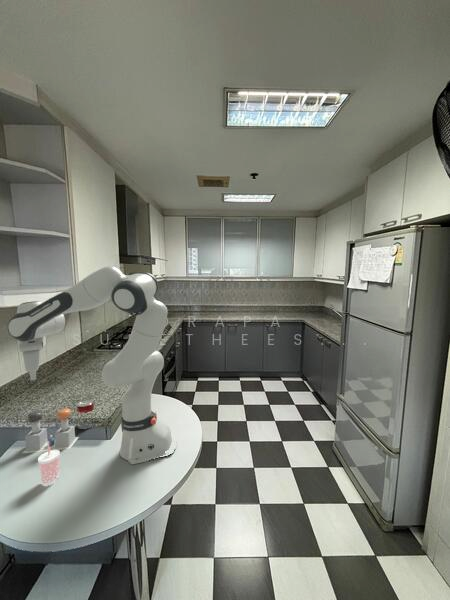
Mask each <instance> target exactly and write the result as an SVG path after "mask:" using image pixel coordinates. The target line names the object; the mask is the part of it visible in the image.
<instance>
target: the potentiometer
mask: <svg viewBox="0 0 450 600" xmlns="http://www.w3.org/2000/svg"><path fill="white" fill-rule="evenodd" d="M47 440H48V441H49V447H51V446H53V445H55V437H53V435H52V434H50V435H49V438H47Z"/></svg>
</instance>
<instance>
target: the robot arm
mask: <svg viewBox="0 0 450 600" xmlns="http://www.w3.org/2000/svg"><path fill="white" fill-rule="evenodd" d="M158 290H159V282H158V279H157V278H156V277H155V275H153V274H151V273H149V272H130V273H128V275H126V274H124V272H122V271H121V270H120V269H119V268H117V267H115V266H111V265H107V266H104V267H102V268H100V269H97V270H96V271H94V272H91V273H90V274H89V275H87V276H86V277H84V278H83V279H82V280H80V281H79V282H77V283H75V284H73V285H72V286H71V287H69V288H67V289H65V290H63V291H61V292H60V293H57V294H56V295H53V296H52V297H50V298H48V299H46V300H45V301H39V300H37V301H26V302H22V303H19V305H18V306H17V309H16V313H15V314H14V315H12V317H11V318H10V320H9V321H8V324H7V331H8V333H9V335H10V336H11V337H12V338H14V339H15V340H17V349H19V350H20V352H21V353H22V357H23V364H24V368H25V372H27V373H28V374H29V379H30V381H35V380H37V372H38V371H39V367H40V361H41V359H40V358H41V352H42V350H43V348H44V347H45V346H46V345H47V342H46V341H47V340H46V339H47V337H48V336H52V335H57V334H60V333H62V332H63V331H64V330H65V329H66V327H67V326H66V325H67V318H66V316H65V315H66V314H71V313H75V312H82V311H90V310H93V309H96V308H98V307H101V306H103V304H105V303H107V302H108V301H110V300H111V301H112V303H113V304H114V306H115V307H116V308H118V309H119V310H120V311H122V312H125V313H127V314H129V315H130V316H133V317H134V316H136V318H135V320H134V323H133V326H132V329H131V333H130V335H129V338H128V340H127V342H126V344H125V345H124V346H122V347H123V348H122V349H121V350H120V351H119V352H118V353H117V355H116V356H114V358H112V359H111V360H110V361H108V362H107V363H105V365H104V366H103V368H102V371H101V379H102V381H103V383H104V384H105V386H106V387H108V388H109V389H118V388H124V387H127V386H130V387H129V388H128V389H127V390H126V392H125V393H124V394H123V396H122V399H121V409H122V410H121V411H122V414H121V415H122V417H121V420H120V425H121V426H120V427H121V433H122V438H121V444H120V448H119V456H120V457H121V458H122V459H124V460H126V461H128V463H129V464H130V465H136V464H140V463H141V464H142V463H145V462H149V460H150V461H152V460H151V459H154V458H157V457H160V456H163V455H166V454H169V453H165V451H167V450H169V448H170V446H171V443H172V437H171V433H172V432H171V429H170V427H169V425H168V424H166V423H164V422H162V421H160V420H159V419H157V417H158V416H157V410H155V412H154V411H152V392H153V388H154V384H155V382H156V380H157V378H158V375H159V374H160V373H161V372H162V370H163V368H164V366H165V360H164V356H163V354H162V353H161V352H160V351H158V350H157V349H158V347H159V344H160V342H161V340H162V336H163V334H164V331H165V327H166V324H167V320H168V319H167V318H168V313H169V312H168V307H167V306H166V305H165V304H164V303H163V302H161V301H160V300H157V299H156V298H155V296H156V295H157V293H158ZM154 460H155V459H154Z"/></svg>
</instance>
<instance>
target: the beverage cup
mask: <svg viewBox="0 0 450 600" xmlns="http://www.w3.org/2000/svg"><path fill="white" fill-rule="evenodd" d="M47 443H48V451H44V453H42V454H40V455H39V456H38V458H37V462H38V464H39V470H40V479H41V484H42V486H44V487H49V486H51V485H53V484H56V483H57V482H58V480H59V474H60V470H59V469H60V455H61V453H60V451H61V450H51V451H50V448H49V441H47ZM48 485H49V486H48Z"/></svg>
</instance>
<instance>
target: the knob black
mask: <svg viewBox="0 0 450 600" xmlns="http://www.w3.org/2000/svg"><path fill="white" fill-rule="evenodd" d="M27 419H28V420H27V422H28V423H31V431H32V435H33V434H39V433H40V429H41V423H40V422H41V421H40V420H42V419H43V411H42V410H34V411H32V412H30V413H28V414H27Z"/></svg>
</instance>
